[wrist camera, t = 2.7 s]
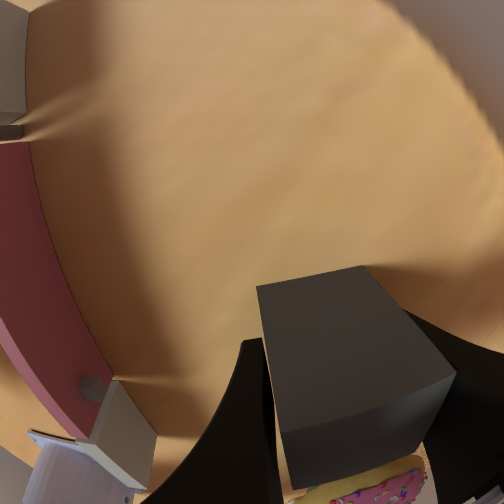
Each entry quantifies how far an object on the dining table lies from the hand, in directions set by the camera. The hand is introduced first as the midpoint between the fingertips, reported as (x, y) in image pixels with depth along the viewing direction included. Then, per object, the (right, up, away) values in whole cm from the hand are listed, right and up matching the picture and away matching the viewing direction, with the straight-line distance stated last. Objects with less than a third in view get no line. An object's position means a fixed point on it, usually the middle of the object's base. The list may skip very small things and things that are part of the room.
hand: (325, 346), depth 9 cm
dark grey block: (0, +1, +2) cm, 2 cm away
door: (-10, +2, 0) cm, 10 cm away
